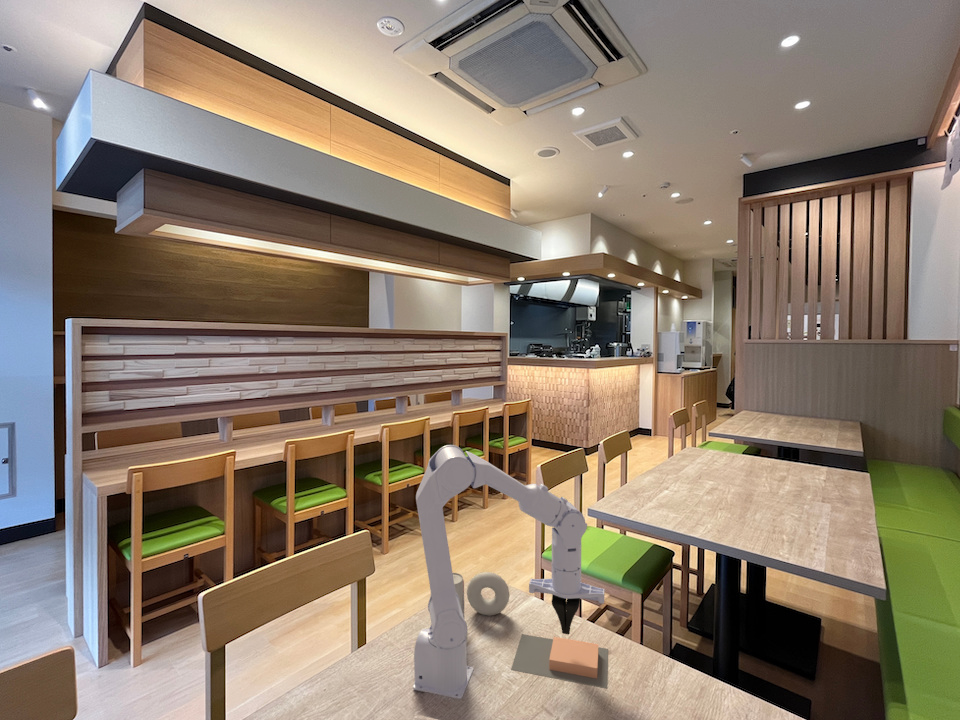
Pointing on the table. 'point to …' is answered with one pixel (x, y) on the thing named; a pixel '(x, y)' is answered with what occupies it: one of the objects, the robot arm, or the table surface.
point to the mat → (536, 661)
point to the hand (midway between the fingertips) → (566, 630)
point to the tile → (574, 657)
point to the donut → (484, 604)
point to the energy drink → (459, 588)
